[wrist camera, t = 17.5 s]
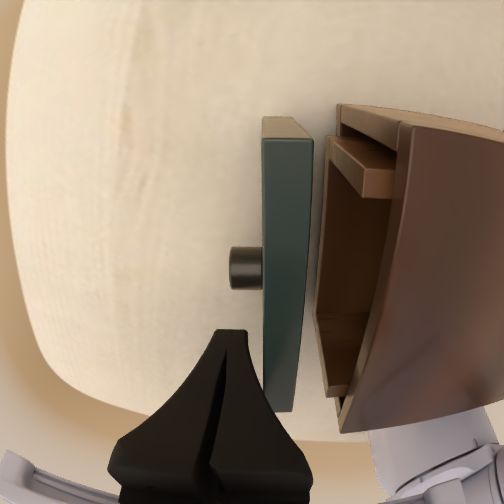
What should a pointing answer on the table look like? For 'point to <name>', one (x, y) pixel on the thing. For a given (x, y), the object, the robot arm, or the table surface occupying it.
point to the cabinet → (432, 274)
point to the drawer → (330, 252)
